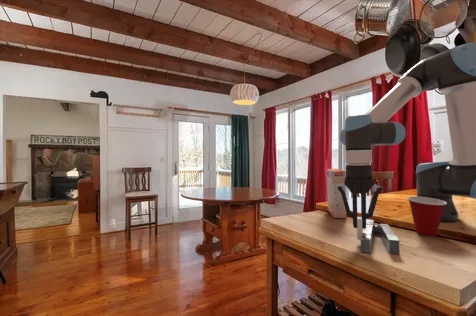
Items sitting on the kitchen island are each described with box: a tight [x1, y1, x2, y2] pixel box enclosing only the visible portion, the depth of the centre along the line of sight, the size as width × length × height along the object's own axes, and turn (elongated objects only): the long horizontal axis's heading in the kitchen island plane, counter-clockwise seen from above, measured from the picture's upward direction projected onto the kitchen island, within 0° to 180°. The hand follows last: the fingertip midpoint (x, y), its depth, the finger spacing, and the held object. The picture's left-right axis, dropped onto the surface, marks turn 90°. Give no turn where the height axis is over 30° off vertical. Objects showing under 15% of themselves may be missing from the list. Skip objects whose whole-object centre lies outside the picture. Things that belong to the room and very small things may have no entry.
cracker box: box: [326, 168, 347, 219], centre depth 113 cm, size 14×6×21 cm, turn 168°
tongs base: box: [373, 223, 400, 256], centre depth 79 cm, size 5×20×4 cm, turn 158°
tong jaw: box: [360, 218, 375, 254], centre depth 80 cm, size 2×22×4 cm, turn 148°
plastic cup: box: [407, 196, 447, 237], centre depth 84 cm, size 11×11×12 cm
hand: (359, 238), depth 78 cm, fingers closed
